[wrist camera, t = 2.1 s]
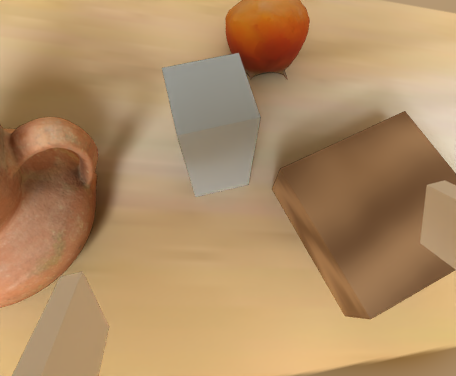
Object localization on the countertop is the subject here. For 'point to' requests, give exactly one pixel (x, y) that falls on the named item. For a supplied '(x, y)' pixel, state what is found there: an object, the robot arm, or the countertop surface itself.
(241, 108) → the pillar
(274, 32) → the fruit
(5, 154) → the ceramic jug
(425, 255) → the walnut slab
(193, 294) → the countertop surface
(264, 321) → the countertop surface
